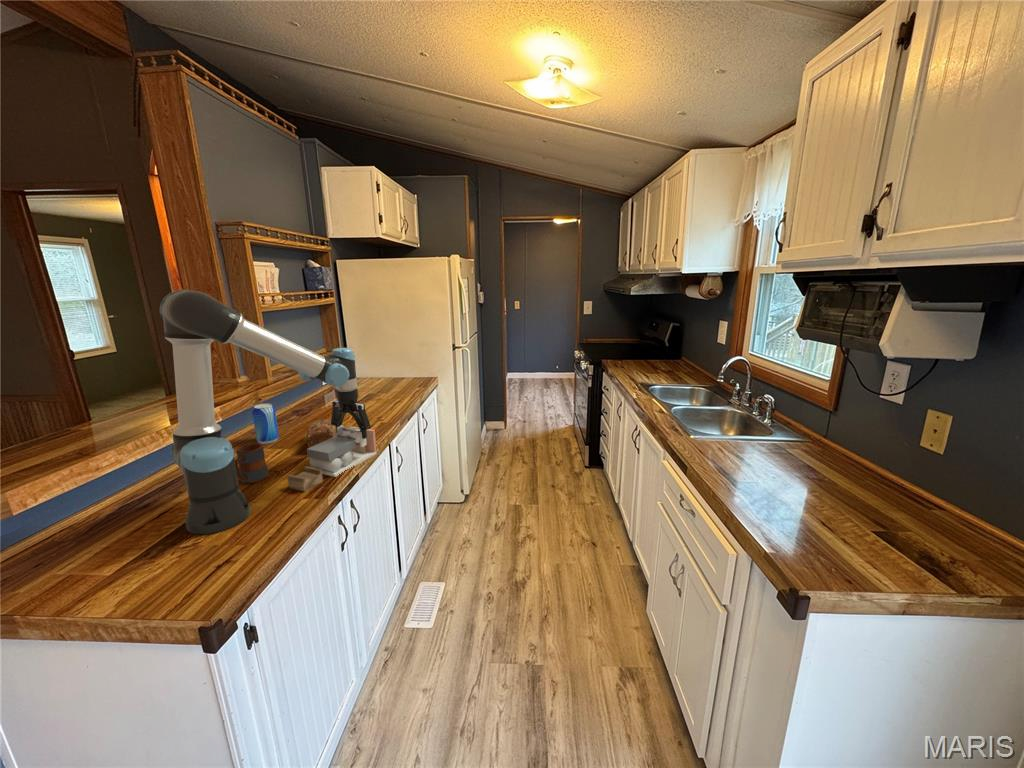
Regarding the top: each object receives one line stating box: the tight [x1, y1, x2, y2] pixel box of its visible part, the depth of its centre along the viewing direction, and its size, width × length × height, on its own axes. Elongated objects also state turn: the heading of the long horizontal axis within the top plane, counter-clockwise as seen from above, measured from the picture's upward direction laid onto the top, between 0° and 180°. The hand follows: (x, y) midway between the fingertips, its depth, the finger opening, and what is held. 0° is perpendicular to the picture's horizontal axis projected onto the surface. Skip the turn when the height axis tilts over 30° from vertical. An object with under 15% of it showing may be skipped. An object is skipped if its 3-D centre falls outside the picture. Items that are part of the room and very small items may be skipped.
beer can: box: [251, 403, 280, 445], centre depth 174 cm, size 8×8×16 cm
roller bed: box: [309, 426, 378, 478], centre depth 154 cm, size 12×22×10 cm, turn 159°
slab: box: [306, 436, 356, 461], centre depth 149 cm, size 10×13×3 cm
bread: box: [306, 418, 337, 448], centre depth 171 cm, size 19×11×10 cm, turn 20°
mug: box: [234, 442, 269, 484], centre depth 139 cm, size 9×12×12 cm
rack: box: [286, 465, 324, 492], centre depth 138 cm, size 8×7×4 cm
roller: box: [336, 426, 360, 443], centre depth 158 cm, size 10×5×5 cm, turn 69°
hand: (352, 443), depth 159 cm, fingers closed on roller, 10 cm apart
